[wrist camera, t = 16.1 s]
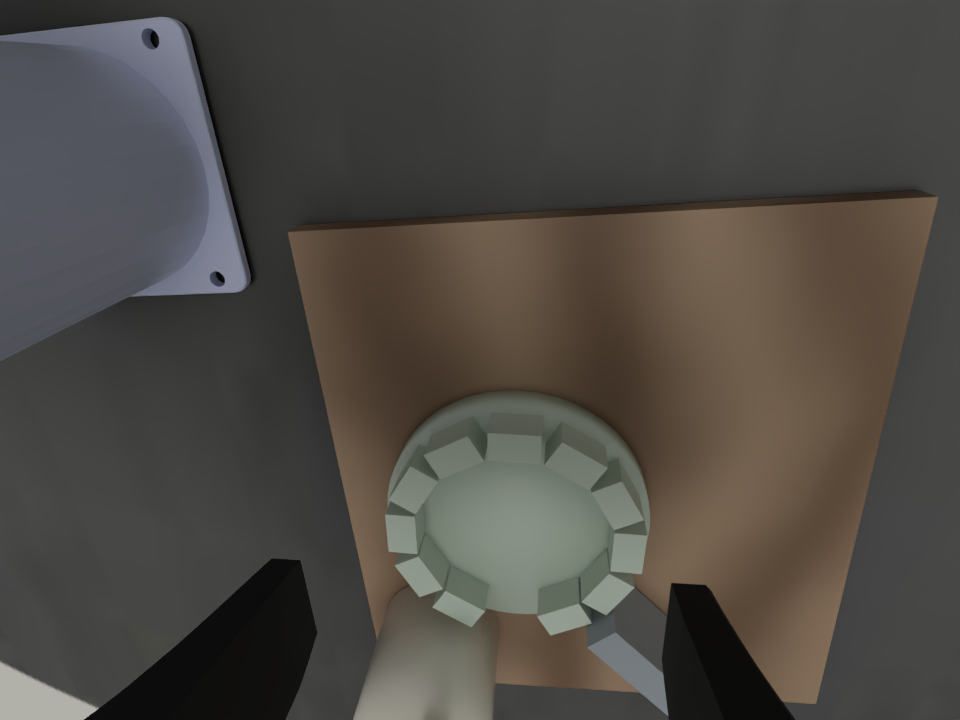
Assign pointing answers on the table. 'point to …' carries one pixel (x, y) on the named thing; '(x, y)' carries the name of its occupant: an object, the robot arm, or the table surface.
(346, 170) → the table surface
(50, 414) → the table surface
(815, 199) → the walnut board
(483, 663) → the cream round-ended cylinder
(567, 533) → the turntable
